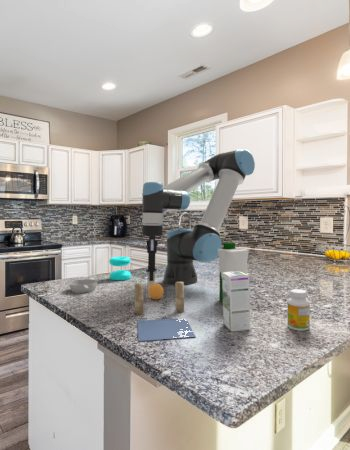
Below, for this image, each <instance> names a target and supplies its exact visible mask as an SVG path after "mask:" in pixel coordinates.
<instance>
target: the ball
mask: <svg viewBox="0 0 350 450" xmlns="http://www.w3.org/2000/svg"><path fill="white" fill-rule="evenodd" d="M147 291H148V295H149V297H150V299H152V300H160V299H161V298H162V297H164V296H163V295H164V293H165V292H164V291H165V289H164V287H163V286H162V285H161V284H159V283H155V284H153V285H151V286H150V287H149V290H147Z"/></svg>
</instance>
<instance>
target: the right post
mask: <svg viewBox="0 0 350 450" xmlns="http://www.w3.org/2000/svg"><path fill="white" fill-rule="evenodd" d="M174 285H175V286H174V287H175V289H174V290H175V312H176V311H177V312H176V313H184V312H185V284H184V282H175V284H174ZM183 311H184V312H183Z"/></svg>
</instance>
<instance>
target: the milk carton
mask: <svg viewBox="0 0 350 450" xmlns="http://www.w3.org/2000/svg"><path fill="white" fill-rule="evenodd" d="M222 243H223V246H222V249H218V255H219V256H218V261H219V263H218V264H219V265H218V266H219V299H218V300H219V301H221V303H223V291H222V273H224V272H231V271H240V272H243V273H245V274H247V275H248V267H247V266H248V265H247V264H248V258H249V254H250V249H245V248H240V247H236V242H232V241H231V242H229V241H228V242H227V241H226V242H222Z"/></svg>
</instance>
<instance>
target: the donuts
mask: <svg viewBox="0 0 350 450" xmlns="http://www.w3.org/2000/svg"><path fill="white" fill-rule="evenodd" d="M131 261H132V260H131V258H130V257H129V256H113V257H111V258H110V259H109V260H108V263H109V264H110V265H111V266H113V267H124V266H128V265H129V264H131ZM131 277H132V273H131V272H130V271H128V270H123V269H119V270H114V271H112V272H111V273H109V279H110V280H112V281H125V280H129V279H130V278H131Z"/></svg>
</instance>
